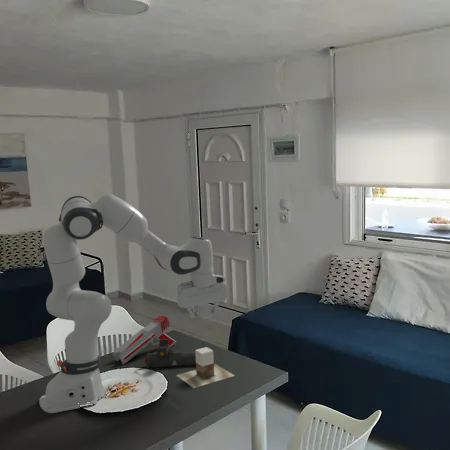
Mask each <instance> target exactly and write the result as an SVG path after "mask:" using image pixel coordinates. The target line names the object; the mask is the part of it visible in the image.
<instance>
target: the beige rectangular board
mask: <svg viewBox="0 0 450 450" xmlns="http://www.w3.org/2000/svg"><path fill="white" fill-rule="evenodd" d="M176 377H178V378H179V379H180V380H182V381H183V382H185V383H186V384H188V385H189V386H190V387H192V388H193V389H195V388H198V387H202V386H205V385H208V384H212V383H215V382H218V381H222V380H225V379H228V378H232V377H235V375H234V374H233V373H231V372H230V371H228V370H226V369H224V368H223V367H222V366H220V365H218V364H216V363H214V376H212V377H209V378H205V379H202V378H201V377H199V376H198V375H197V374H196V369H194V370H189V371H186V372H182V373H179V374H176Z"/></svg>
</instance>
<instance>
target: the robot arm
mask: <svg viewBox="0 0 450 450" xmlns="http://www.w3.org/2000/svg"><path fill="white" fill-rule="evenodd" d="M58 221H59V223H58V224H54V225H52V226H49V227H48V228H47V229H46V230H45V231H44V233H43V236H42V240H43V247H44V254H45V257H46V261H47V264H48V265H47V266H48V267H49V271H50V274H51V278H52V290H51V291H50V293H49V294H48V296H47V298H46V302H45V305H46V310H47V312H48V313H49V314H50V315H52V316H54V317H55V318H58V319H60V320H66V321H73V322H74V328H73V330H72V331H71V332H69V334H67V335H66V337H65V338H64V348H65V360H64V361H62V360H61V359H58V360H57V362H56V365H57V367H59V368H60V371H59V372H58V373H57V375H55V376H54V377H53V378H52V379H51V380H50V381H48V383H47V385H46V387H45V394H44V395H41V397H40V398H39V401H38V402H39V403H38V404H39V406H40V408H41V410H43V411H44V412H45V413H48V414H56V413H61V412H65V411H70V410H75V409H81V408H80V407H79V406H80V405H86V404H94V403H96V402H98V401H99V400H100V399H102V398H103V397H104V396H105V394H106V392H105V388H104V385H103V382H102V377H101V372H100V371H101V359H100V355H99V350H98V348H99V347H98V334H99V330H100V328H101V325H102V324H103V323H105V322H106V320H107V319H108V318H109V317H110V314H111V313H112V308H113V307H112V306H113V305H112V301H111V298H110V297H108V295H106V294H103V293H101V292H98V291H94V290H93V291H92V290H84V289H81V287H80V282H81V280H83V279H84V277H85V275H86V268H85V264H84V259H83V257H82V254H81V251H80V246H79V243H78V240H81V241H82V240H85V239H88V238H90V237H91V236H92V235H93V234H95V233H96V232H98V231H99V230H100V229H102V228H103V227H105V228H107V229H109V230H110V231H111V232H112V233H114V234H115V235H117V236H118V237H120V238H122V239H124V240H125V241H128V242H129V243H135V244H138V246H140V247H142V248H143V249H144V250H146V251H147V252H148V253H149V254H151V255H152V256H153V257H154V259H155V261H156V262H157V265H158V266H159V267H160V268H161V269H163V270H165V271H168V272H171V273H173V274H175V275H180V276H183V275H187V274H189V281H187V282H186V281H185V282H180V284H179V285H178V286H177V290H176V291H177V296H176V304H177V306H178V307H179V308H180V309H186V310H187V313H188V315H189V318H190V319H194V318H196V313H195V312H193V311H192V310H193V307H197V306H201V305H207V304H213V306H212V307H211V308H210V313H211V314H213V315H214V314H217V309H218V307H219V304H220V302H222V301H226V299H228V288H227V283H226V277H225V276H223V275H220V274H216V273H214V268H213V262H214V254H213V245H212V244H213V243H212V242H211V240H210V239H209V238H206V237H202V236H201V237H200V236H192V237H190V238H189V239H188V241H187V242H185V243H184V244H182V245H180V246H177V245H176V244H174V243H168V242H165V241H163V240H162V239H161V238H159V237H158V236H156V235H155V234H154V233H153V232H152V231H151V230H149V222H148V219H147V218H146V217H145V216H144V215H143V213H141V212H140V210H138V209H137V208H135V207H134V206H133V205H131V204H130V203H128V202H127V201H126V200H124V199H123V198H120V197H119V196H116V195H114V194H113V193H111V194H110V193H107V194H103V195H101V196H100V197H99V198H98V199H97V200H96V201H95V202H91V200H89V199H88V198H87V197H84V196H82V195H74V196H71V197H69V198H68V199H66V201H65V202H64V203H63V205H62V208H61V211H60V215H59V218H58ZM101 397H102V398H101ZM98 399H99V400H98ZM97 400H98V401H97ZM87 402H90V403H87ZM78 403H79V404H78ZM96 404H97V403H96Z"/></svg>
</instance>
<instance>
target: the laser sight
mask: <svg viewBox="0 0 450 450" xmlns="http://www.w3.org/2000/svg"><path fill="white" fill-rule="evenodd" d="M158 345H159V346H158V347H157V348H156V351H153V352H147V353H146V357H144V364H146V368H147V369H150V368H164V367H165V368H166V367H169V368H170V367H182V366H196V353H195V351H182V350H174V347H173V346H171V347H169V339H165V340H159V344H158Z"/></svg>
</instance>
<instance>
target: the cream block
mask: <svg viewBox="0 0 450 450" xmlns="http://www.w3.org/2000/svg"><path fill="white" fill-rule="evenodd" d="M194 352H195V353H196V363H198V364H199V365H201V366H206V365H210V364H213V363H214V361H215V359H214V357H215V356H214V350H213V349H211V348H210V347H207V346H206V347H205V346H204V347H202V348H201V347H200V348H197V349H195V351H194ZM214 364H215V363H214Z"/></svg>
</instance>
